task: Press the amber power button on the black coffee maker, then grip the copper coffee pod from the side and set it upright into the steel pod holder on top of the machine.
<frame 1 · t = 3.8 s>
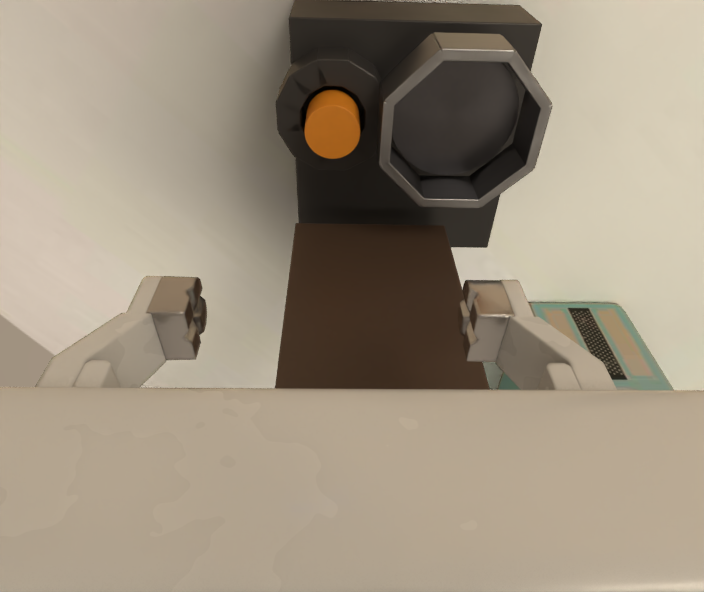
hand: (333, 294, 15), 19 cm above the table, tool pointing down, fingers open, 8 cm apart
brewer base: (397, 122, 31), on the table
coffee maker: (397, 122, 31), resting on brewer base
power button: (332, 124, 24), point 7 cm above the table, slide at 0.1 cm
device: (545, 366, 47), on the table
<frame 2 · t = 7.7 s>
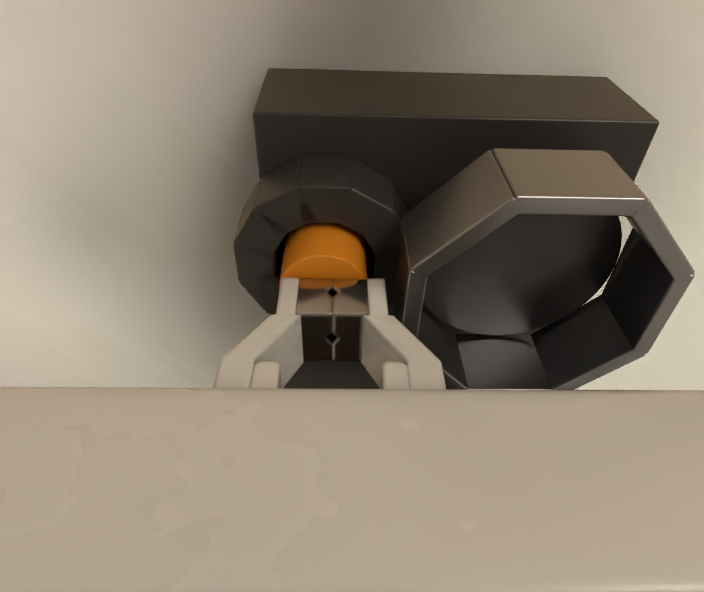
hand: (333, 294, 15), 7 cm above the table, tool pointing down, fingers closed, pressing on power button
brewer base: (418, 227, 22), on the table
coffee maker: (418, 227, 22), resting on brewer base
power button: (324, 269, 16), point 6 cm above the table, slide at -0.3 cm, touching gripper
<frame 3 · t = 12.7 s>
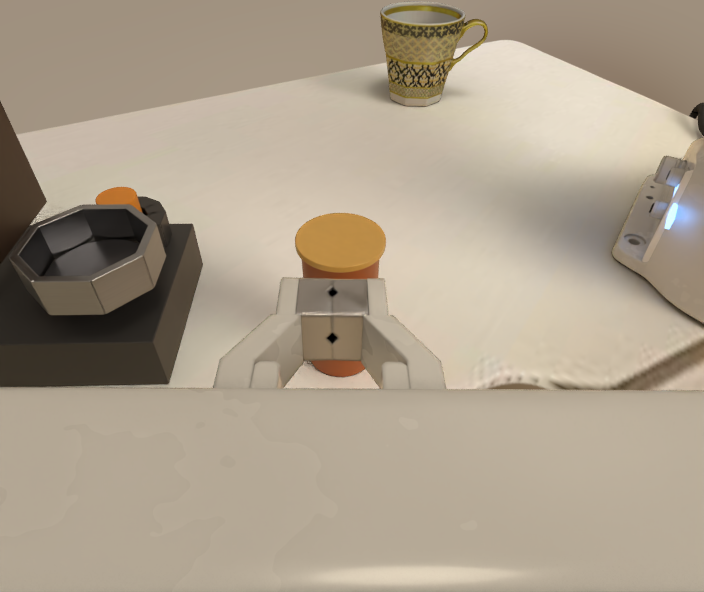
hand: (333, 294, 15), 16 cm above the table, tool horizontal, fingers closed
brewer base: (96, 318, 36), on the table
coffee maker: (96, 318, 36), resting on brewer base
power button: (120, 209, 35), point 7 cm above the table, slide at 0.1 cm
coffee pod: (341, 351, 34), on the table
ceramic cup: (425, 98, 67), on the table
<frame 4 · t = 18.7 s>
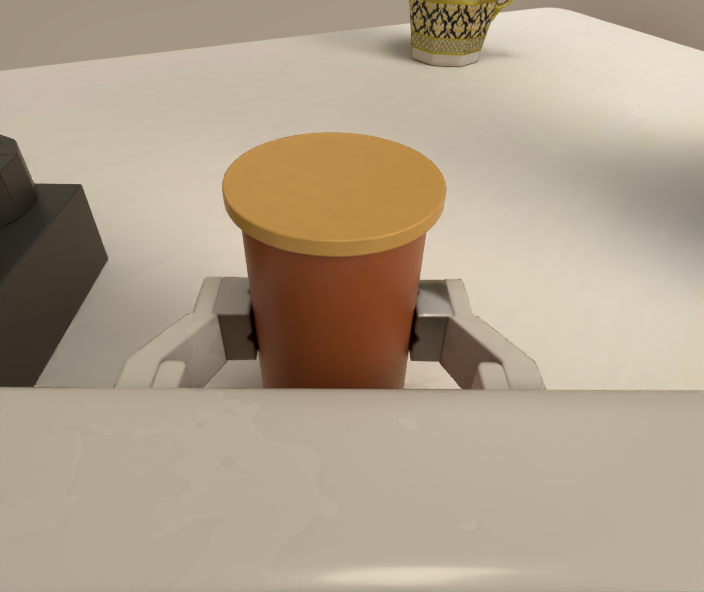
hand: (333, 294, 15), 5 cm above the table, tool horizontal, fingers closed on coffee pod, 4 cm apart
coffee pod: (333, 425, 18), on the table, touching gripper
ceramic cup: (458, 59, 51), on the table
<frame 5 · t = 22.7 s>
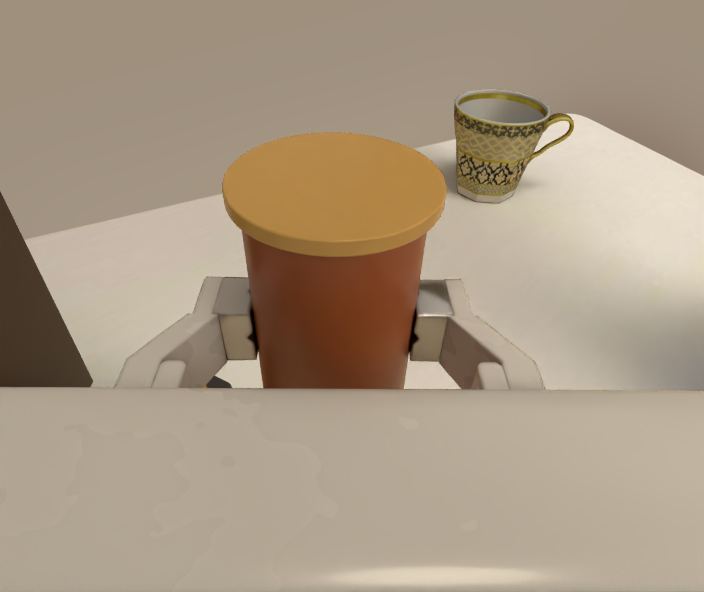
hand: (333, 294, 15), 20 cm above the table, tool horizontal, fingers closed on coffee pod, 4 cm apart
coffee maker: (148, 528, 30), resting on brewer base
power button: (185, 404, 28), point 7 cm above the table, slide at 0.1 cm
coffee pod: (333, 425, 18), point 15 cm above the table, touching gripper
ceramic cup: (496, 191, 60), on the table
when the fingers open (11 cm above the table, at t = 26.8 s): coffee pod stays where it is, resting on coffee maker.
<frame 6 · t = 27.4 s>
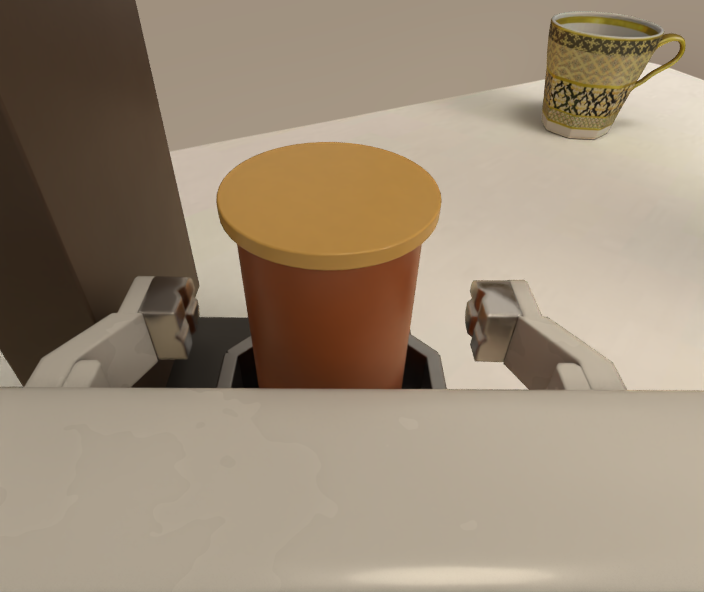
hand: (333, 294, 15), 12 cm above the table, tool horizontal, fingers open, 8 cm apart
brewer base: (271, 470, 23), on the table
coffee maker: (271, 470, 23), resting on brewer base
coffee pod: (331, 432, 18), point 6 cm above the table, touching coffee maker
ceramic cup: (587, 129, 54), on the table
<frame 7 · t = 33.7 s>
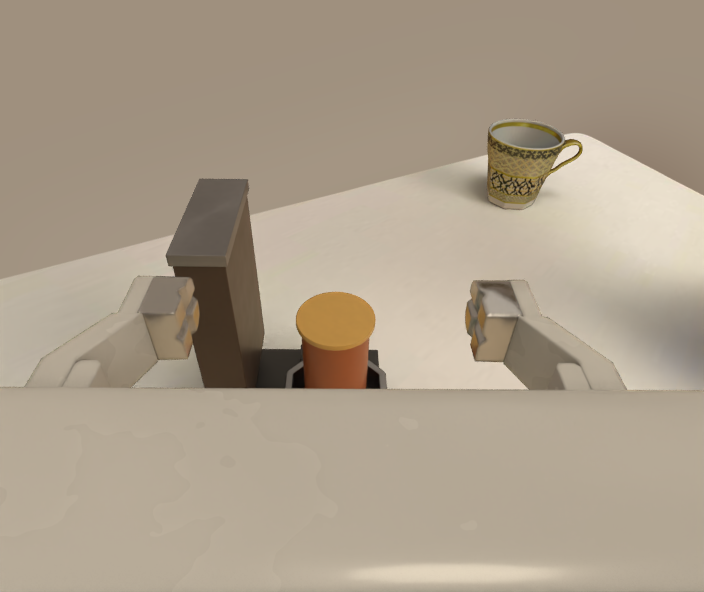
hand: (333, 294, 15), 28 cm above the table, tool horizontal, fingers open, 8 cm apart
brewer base: (303, 431, 44), on the table
coffee maker: (303, 431, 44), resting on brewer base
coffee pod: (335, 408, 38), point 6 cm above the table, touching coffee maker
ceramic cup: (519, 200, 75), on the table
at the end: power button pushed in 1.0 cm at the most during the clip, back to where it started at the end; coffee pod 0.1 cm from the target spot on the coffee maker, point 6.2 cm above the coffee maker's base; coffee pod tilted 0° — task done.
